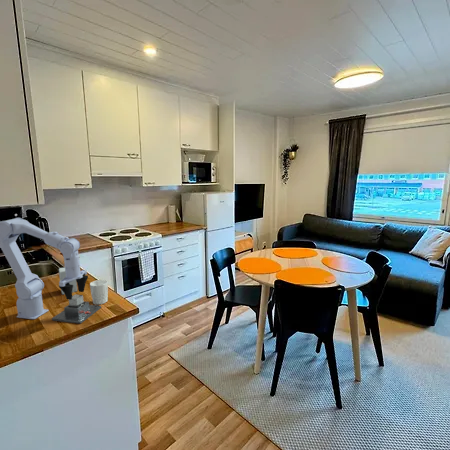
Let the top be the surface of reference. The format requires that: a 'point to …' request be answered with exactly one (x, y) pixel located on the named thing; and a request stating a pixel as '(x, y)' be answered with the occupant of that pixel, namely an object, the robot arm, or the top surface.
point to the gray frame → (76, 313)
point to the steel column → (76, 301)
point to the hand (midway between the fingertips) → (75, 295)
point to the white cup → (99, 291)
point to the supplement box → (63, 275)
